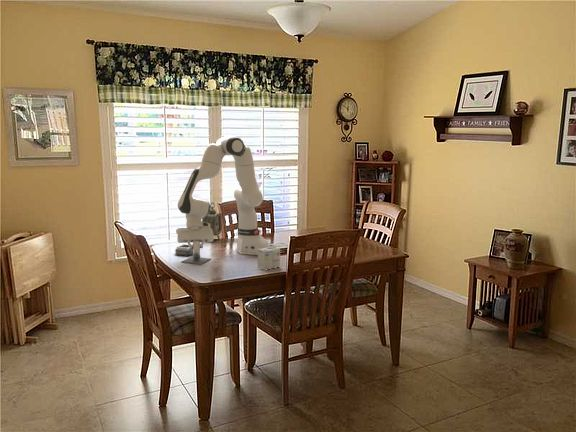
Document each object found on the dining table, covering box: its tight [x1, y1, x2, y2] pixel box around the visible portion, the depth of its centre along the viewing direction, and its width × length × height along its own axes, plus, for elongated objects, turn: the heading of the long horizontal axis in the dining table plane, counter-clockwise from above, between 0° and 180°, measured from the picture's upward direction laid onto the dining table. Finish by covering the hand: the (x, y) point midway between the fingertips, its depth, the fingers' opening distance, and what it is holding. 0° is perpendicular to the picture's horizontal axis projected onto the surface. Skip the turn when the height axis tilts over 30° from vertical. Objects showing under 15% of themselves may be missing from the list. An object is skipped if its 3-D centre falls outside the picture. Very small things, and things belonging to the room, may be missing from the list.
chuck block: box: [174, 243, 193, 257], centre depth 300 cm, size 12×12×4 cm
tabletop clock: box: [201, 201, 223, 242], centre depth 337 cm, size 14×9×25 cm, turn 168°
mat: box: [181, 255, 212, 266], centre depth 285 cm, size 12×12×1 cm
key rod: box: [192, 240, 201, 260], centre depth 284 cm, size 4×4×10 cm
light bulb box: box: [257, 246, 281, 271], centre depth 274 cm, size 11×7×11 cm, turn 129°
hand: (196, 248), depth 283 cm, fingers open, 4 cm apart
